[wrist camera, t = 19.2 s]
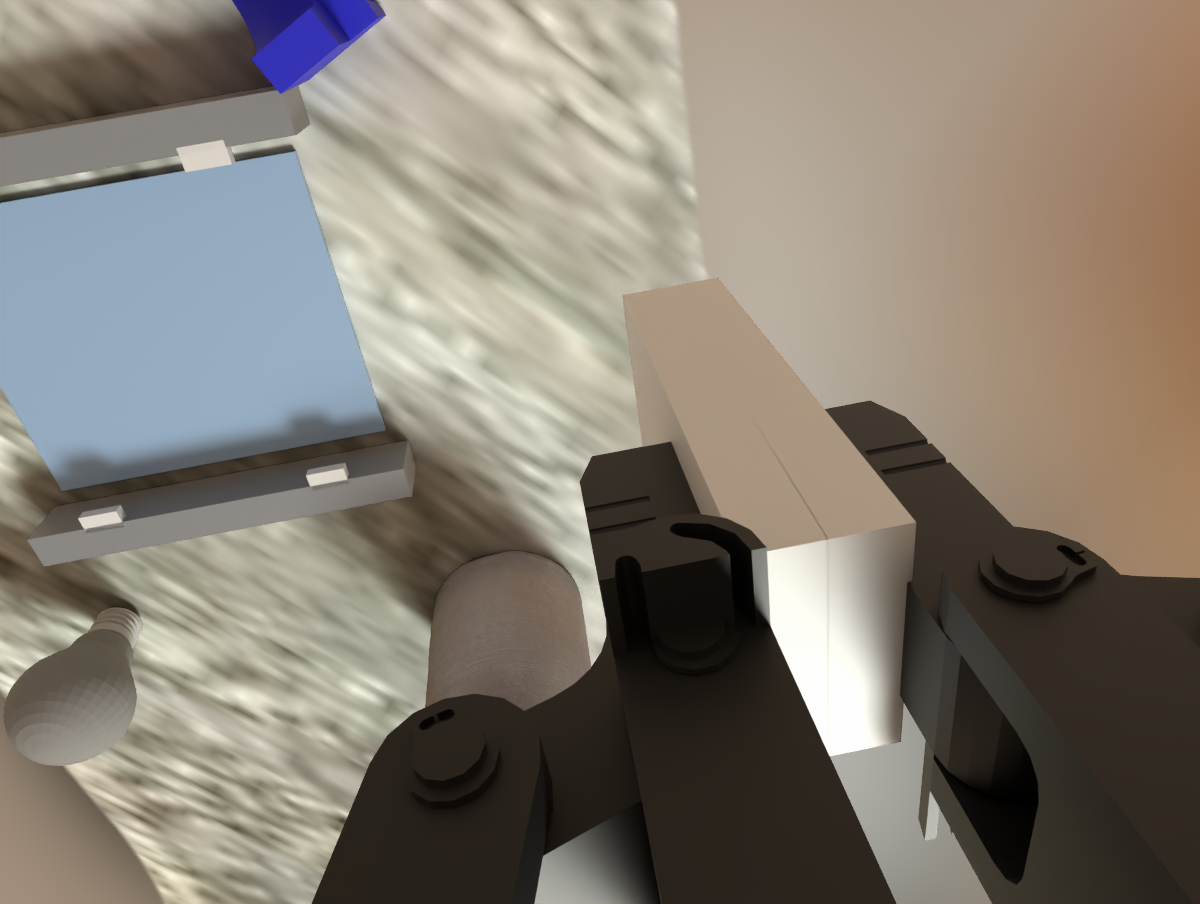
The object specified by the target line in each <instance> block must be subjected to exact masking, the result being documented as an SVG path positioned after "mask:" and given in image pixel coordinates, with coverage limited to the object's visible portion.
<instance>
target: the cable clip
mask: <svg viewBox="0 0 1200 904" xmlns="http://www.w3.org/2000/svg"><path fill="white" fill-rule="evenodd" d="M232 1H233V2H234V4H235V6H236V7H237V9H238V10H239V12H240V14H241V15H242V17H243V19H244V21H245V23H246V25H247V27H248V29H249V31H250V33H251V35H252V38H253V41H254V44H255V50H256V51H255V56H254V57H253V58H251V60H252V61H253V62H254V63H255V65H256V66H257V67H258V68H259V69H260V70H261V72H262V73H263V74H264V75H265V76H266V78H267V79H268V80H269V81H270V82H271V84H272V85H273V86H274V87H275V88H276V90H277V91H278V92H279V93H280V94H282V93H284V92H286V91H288V90H290V89H292V88H294V87H296V86H298V85H300V84H302V83H304V82H306V81H308V80H309V79H311V78H312V77H313V76H314V75H315V74H317V73H318V72H319V71H320V70H321V69H322V68H324V67H325V66H326V65H327V64H328V63H330V62H331V61H332V60H333V59H334V58H336V57H337V56H338V55H339V54H340V53H342V52H343V51H344V50H345V49H346V48H348V47H349V46H350V45H351V44H352V43H354V42H355V41H356V40H357V39H358V38H359V37H361V36H362V35H363V34H364V33H365V32H367V31H368V30H369V29H370V28H371V27H373V26H374V25H375V24H376V23H377V22H379V21H380V20H381V19H382V18H383V17H385V16H386V15H385V13H384V12H383V11H382V9H381V8H380V7H379V5H378V4H377V3H376V1H375V0H232Z"/></svg>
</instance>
